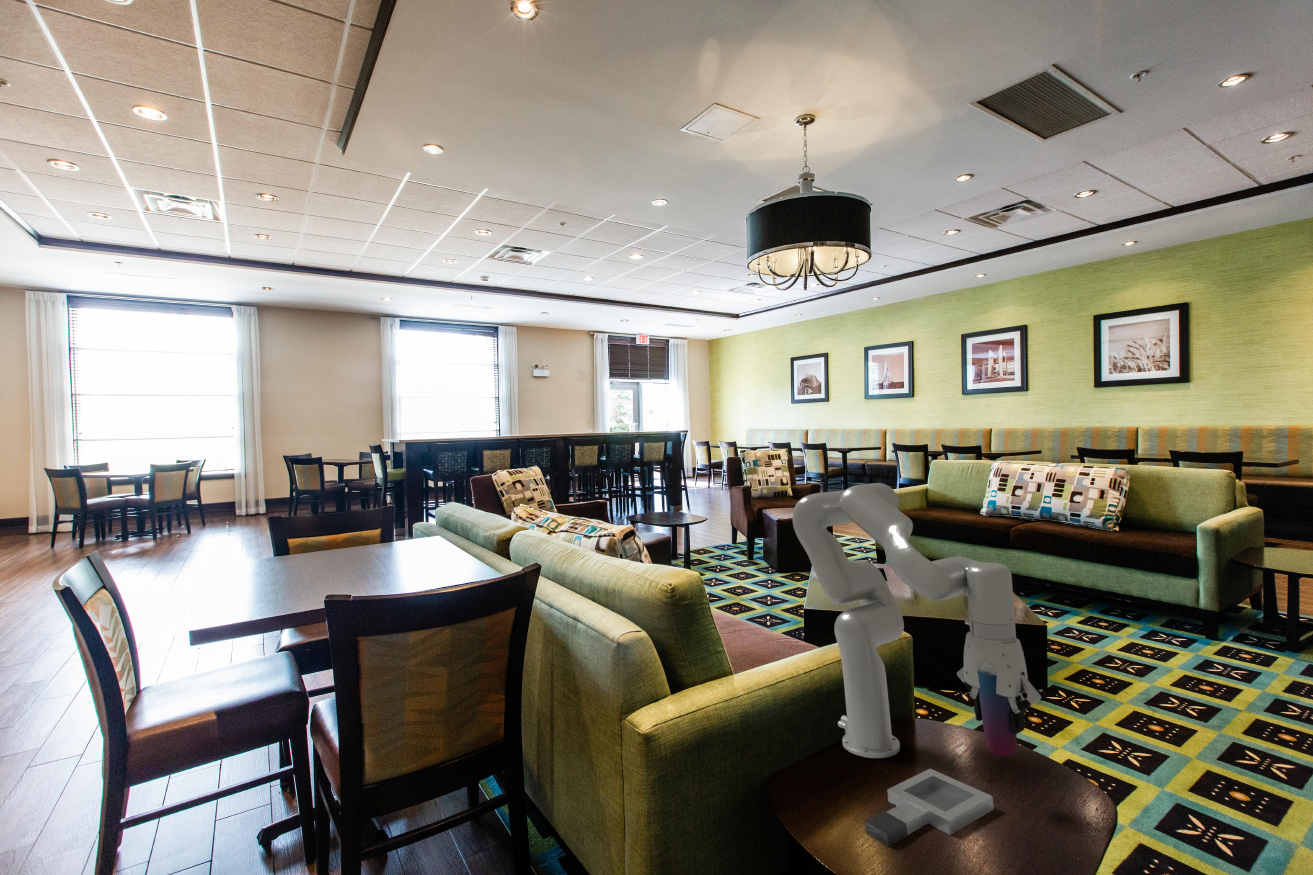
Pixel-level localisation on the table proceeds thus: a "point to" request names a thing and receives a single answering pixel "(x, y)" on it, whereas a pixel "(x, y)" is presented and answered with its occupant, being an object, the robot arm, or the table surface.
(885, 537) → the robot arm
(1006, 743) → the cup
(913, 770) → the table surface
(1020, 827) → the table surface
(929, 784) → the holder
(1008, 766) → the table surface
